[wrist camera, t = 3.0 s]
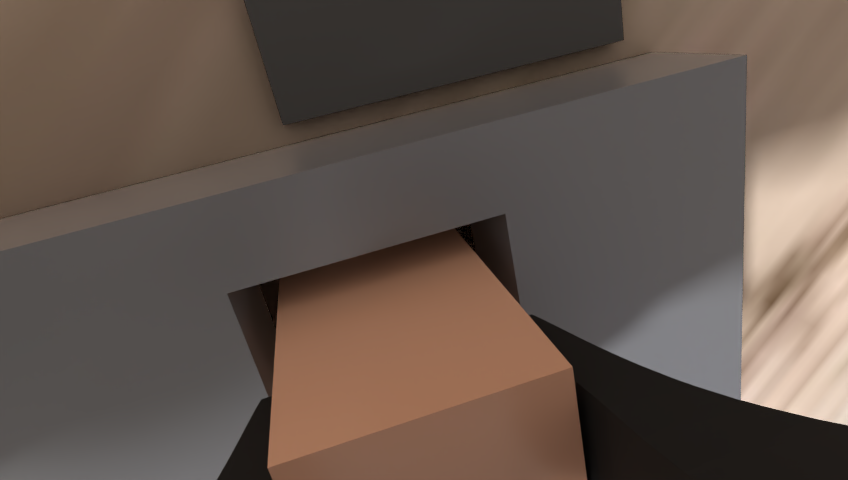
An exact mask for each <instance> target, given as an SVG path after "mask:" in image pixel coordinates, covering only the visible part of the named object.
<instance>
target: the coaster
mask: <svg viewBox="0 0 848 480" xmlns="http://www.w3.org/2000/svg"><path fill="white" fill-rule="evenodd" d="M244 2H245V5H246V8H247V11H248V14H249V18H250V21H251V24H252V27H253V30H254V34H255V37H256V40H257V43H258V46H259V50H260V53H261V56H262V59H263V62H264V66H265V69H266V72H267V75H268V78H269V82H270V85H271V88H272V91H273V94H274V97H275V101H276V104H277V107H278V110H279V113H280V117H281V120H282V123H283V125H286V124H290V123H294V122H298V121H302V120H306V119H310V118H314V117H318V116H322V115H326V114H330V113H334V112H338V111H342V110H346V109H350V108H354V107H358V106H362V105H366V104H370V103H374V102H378V101H382V100H386V99H390V98H394V97H398V96H402V95H406V94H410V93H414V92H418V91H422V90H426V89H430V88H434V87H438V86H442V85H446V84H450V83H454V82H458V81H462V80H466V79H470V78H474V77H478V76H482V75H486V74H490V73H494V72H498V71H502V70H506V69H510V68H514V67H518V66H522V65H526V64H530V63H534V62H538V61H542V60H546V59H550V58H554V57H558V56H562V55H566V54H570V53H574V52H578V51H582V50H586V49H590V48H594V47H598V46H602V45H606V44H610V43H614V42H618V41H622V40H624V38H623V23H622V7H621V0H244Z"/></svg>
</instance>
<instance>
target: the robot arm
mask: <svg viewBox="0 0 848 480" xmlns="http://www.w3.org/2000/svg"><path fill="white" fill-rule="evenodd" d="M529 316H530V317H531V319H532V320H533V321H534V322H535V323H536V324H537V326H538V327H539V328H540V329H541V330H542V331H543V333H544V334H545V335H546V336H547V337H548V339H549V340H550V341H551V342H552V343H553V344H554V346H555V347H556V348H557V349H558V350H559V351H560V353H561V354H562V355H563V356H564V357H565V358H566V360H567V361H568V362H569V363H570V364H571V365H572V367H573V373H574V380H575V388H576V396H577V404H578V412H579V420H580V428H581V435H582V443H583V451H584V459H585V467H586V475H587V480H848V426H847V425H842V424H837V423H832V422H827V421H823V420H818V419H813V418H809V417H805V416H801V415H797V414H792V413H788V412H784V411H780V410H776V409H772V408H768V407H764V406H760V405H756V404H753V403H749V402H745V401H742V400H738V399H735V398H732V397H728V396H725V395H722V394H719V393H716V392H713V391H709V390H706V389H703V388H700V387H697V386H694V385H691V384H688V383H685V382H682V381H679V380H677V379H674V378H671V377H669V376H666V375H664V374H661V373H659V372H656V371H653V370H651V369H648V368H646V367H643V366H641V365H638V364H636V363H634V362H631V361H629V360H627V359H624V358H622V357H620V356H618V355H615V354H613V353H611V352H609V351H607V350H604V349H602V348H600V347H598V346H596V345H594V344H592V343H590V342H587V341H585V340H583V339H581V338H579V337H577V336H575V335H573V334H571V333H569V332H567V331H565V330H563V329H561V328H559V327H557V326H555V325H553V324H551V323H549V322H547V321H545V320H543V319H541V318H539V317H537V316H535V315H532V314H531V315H529ZM271 404H272V396H270V397H267V398H264V399H261V400H260V402H259V404H258V405H257V407H256V409H255V411H254V413H253V414H252V416H251V418H250V420H249V422H248V424H247V426H246V428H245V429H244V431H243V433H242V435H241V437H240V439H239V441H238V443H237V444H236V446H235V448H234V450H233V452H232V454H231V455H230V457H229V459H228V461H227V463H226V464H225V466H224V468H223V470H222V471H221V473H220V475H219V477H218V478H217V480H272V478H271V475H270V473H269V471H268V468H267V466H268V451H269V435H270V419H271Z"/></svg>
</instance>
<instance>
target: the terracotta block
mask: <svg viewBox="0 0 848 480" xmlns="http://www.w3.org/2000/svg"><path fill="white" fill-rule="evenodd" d="M267 468H268V471H269V473H270V475H271V478H272V480H587V475H586V467H585V459H584V451H583V443H582V435H581V428H580V420H579V412H578V404H577V396H576V388H575V380H574V373H573V367H572V365H571V364H570V363H569V362H568V361H567V360H566V358H565V357H564V356H563V355H562V354H561V353H560V351H559V350H558V349H557V348H556V347H555V346H554V344H553V343H552V342H551V341H550V340H549V339H548V337H547V336H546V335H545V334H544V333H543V331H542V330H541V329H540V328H539V327H538V326H537V324H536V323H535V322H534V321H533V320H532V319H531V317H530V316H529V315H528V314H527V313H526V312H525V310H524V309H523V308H522V307H521V306H520V305H519V303H518V302H517V301H516V300H515V299H514V298H513V296H512V295H511V294H510V293H509V292H508V290H507V289H506V288H505V287H504V286H503V285H502V283H501V282H500V281H499V280H498V279H497V278H496V276H495V275H494V274H493V273H492V272H491V271H490V269H489V268H488V267H487V266H486V265H485V264H484V262H483V261H482V260H481V259H480V258H479V256H478V255H477V254H476V253H475V252H474V251H473V249H472V248H471V247H470V246H469V245H468V244H467V242H466V241H465V240H464V239H463V238H462V237H461V235H460V234H459V233H458V232H457V231H456V230H455V228H454V229H450V230H447V231H443V232H440V233H436V234H433V235H429V236H426V237H422V238H419V239H415V240H412V241H408V242H405V243H401V244H398V245H394V246H391V247H387V248H384V249H380V250H377V251H374V252H370V253H367V254H363V255H360V256H356V257H353V258H349V259H346V260H342V261H339V262H335V263H332V264H328V265H325V266H321V267H318V268H314V269H311V270H307V271H304V272H300V273H297V274H293V275H290V276H286V277H283V278H279V294H278V310H277V325H276V341H275V357H274V372H273V388H272V404H271V419H270V435H269V451H268V466H267Z"/></svg>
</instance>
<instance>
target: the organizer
mask: <svg viewBox="0 0 848 480" xmlns="http://www.w3.org/2000/svg"><path fill="white" fill-rule="evenodd" d="M746 77H747V55H733V54H700V53H668V52H651V53H647V54H643V55H639V56H636V57H632V58H628V59H624V60H620V61H616V62H612V63H608V64H604V65H600V66H596V67H593V68H589V69H585V70H581V71H577V72H573V73H569V74H565V75H561V76H557V77H553V78H550V79H546V80H542V81H538V82H534V83H530V84H526V85H522V86H518V87H514V88H510V89H507V90H503V91H499V92H495V93H491V94H487V95H483V96H479V97H475V98H471V99H467V100H464V101H460V102H456V103H452V104H448V105H444V106H440V107H436V108H432V109H428V110H424V111H420V112H417V113H413V114H409V115H405V116H401V117H397V118H393V119H389V120H385V121H381V122H377V123H374V124H370V125H366V126H362V127H358V128H354V129H350V130H346V131H342V132H338V133H334V134H331V135H327V136H323V137H319V138H315V139H311V140H307V141H303V142H299V143H295V144H291V145H288V146H284V147H280V148H276V149H272V150H268V151H264V152H260V153H256V154H252V155H248V156H244V157H241V158H237V159H233V160H229V161H225V162H221V163H217V164H213V165H209V166H205V167H201V168H198V169H194V170H190V171H186V172H182V173H178V174H174V175H170V176H166V177H162V178H158V179H155V180H151V181H147V182H143V183H139V184H135V185H131V186H127V187H123V188H119V189H115V190H112V191H108V192H104V193H100V194H96V195H92V196H88V197H84V198H80V199H76V200H72V201H69V202H65V203H61V204H57V205H53V206H49V207H45V208H41V209H37V210H33V211H29V212H25V213H22V214H18V215H14V216H10V217H6V218H2V219H0V480H217V478H218V477H219V475H220V473H221V471H222V470H223V468H224V466H225V464H226V463H227V461H228V459H229V457H230V455H231V454H232V452H233V450H234V448H235V446H236V444H237V443H238V441H239V439H240V437H241V435H242V433H243V431H244V429H245V428H246V426H247V424H248V422H249V420H250V418H251V416H252V414H253V413H254V411H255V409H256V407H257V405H258V404H259V402H260V400H261V399H264V398H267V397H270V396H272V388H273V372H274V357H275V341H276V329H275V326H274V323H273V321H272V318H271V315H270V313H269V310H268V307H267V305H266V302H265V299H264V297H263V294H262V291H261V289H260V286H259V284H262V283H265V282H269V281H272V280H276V279H279V278H283V277H286V276H290V275H293V274H297V273H300V272H304V271H307V270H311V269H314V268H318V267H321V266H325V265H328V264H332V263H335V262H339V261H342V260H346V259H349V258H353V257H356V256H360V255H363V254H367V253H370V252H374V251H377V250H380V249H384V248H387V247H391V246H394V245H398V244H401V243H405V242H408V241H412V240H415V239H419V238H422V237H426V236H429V235H433V234H436V233H440V232H443V231H447V230H450V229H454V228H457V227H461V226H464V225H468V224H471V229H472V235H473V240H474V245H475V250H476V254H477V255H478V256H479V258H480V259H481V260H482V261H483V262H484V264H485V265H486V266H487V267H488V268H489V269H490V271H491V272H492V273H493V274H494V275H495V276H496V278H497V279H498V280H499V281H500V282H501V283H502V285H503V286H504V287H505V288H506V289H507V290H508V292H509V293H510V294H511V295H512V296H513V298H514V299H515V300H516V301H517V302H518V303H519V305H520V306H521V307H522V308H523V309H524V310H525V312H526V313H527V314H528V315H531V314H532V315H535V316H537V317H539V318H541V319H543V320H545V321H547V322H549V323H551V324H553V325H555V326H557V327H559V328H561V329H563V330H565V331H567V332H569V333H571V334H573V335H575V336H577V337H579V338H581V339H583V340H585V341H587V342H590V343H592V344H594V345H596V346H598V347H600V348H602V349H604V350H607V351H609V352H611V353H613V354H615V355H618V356H620V357H622V358H624V359H627V360H629V361H631V362H634V363H636V364H638V365H641V366H643V367H646V368H648V369H651V370H653V371H656V372H659V373H661V374H664V375H666V376H669V377H671V378H674V379H677V380H679V381H682V382H685V383H688V384H691V385H694V386H697V387H700V388H703V389H706V390H709V391H713V392H716V393H719V394H722V395H725V396H728V397H732V398H735V399H738V400H741V349H742V295H743V240H744V186H745V132H746Z"/></svg>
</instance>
